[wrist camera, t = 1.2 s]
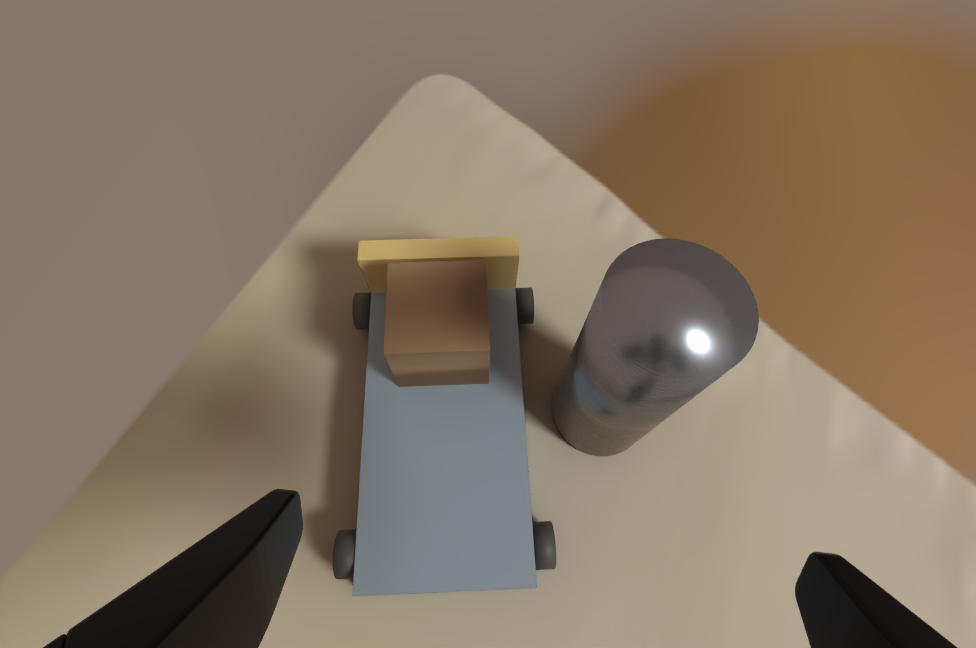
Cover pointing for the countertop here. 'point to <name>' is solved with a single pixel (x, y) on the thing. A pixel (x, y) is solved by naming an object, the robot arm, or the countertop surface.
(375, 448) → the cart
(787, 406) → the countertop surface
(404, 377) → the collected block
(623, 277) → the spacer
